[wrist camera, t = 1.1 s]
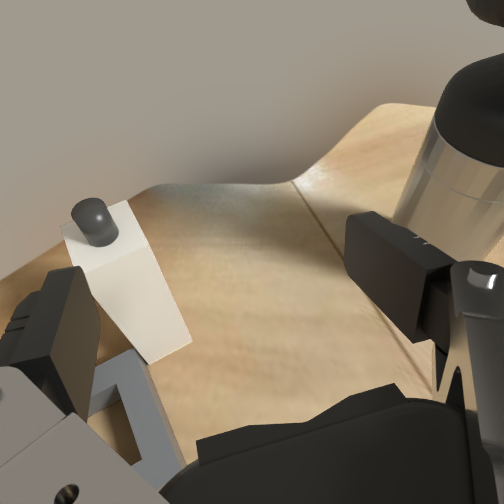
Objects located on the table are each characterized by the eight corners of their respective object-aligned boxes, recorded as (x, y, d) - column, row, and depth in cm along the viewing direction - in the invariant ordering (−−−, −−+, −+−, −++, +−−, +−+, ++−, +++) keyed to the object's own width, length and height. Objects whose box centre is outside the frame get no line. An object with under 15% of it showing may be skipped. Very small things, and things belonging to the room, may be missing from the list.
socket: (27, 423, 32) (3, 414, 29) (144, 360, 35) (133, 347, 32) (53, 565, 26) (27, 571, 24) (191, 476, 29) (182, 472, 26)
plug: (133, 326, 37) (41, 201, 22) (175, 305, 38) (114, 173, 24) (149, 365, 35) (57, 253, 20) (192, 341, 36) (137, 219, 21)
